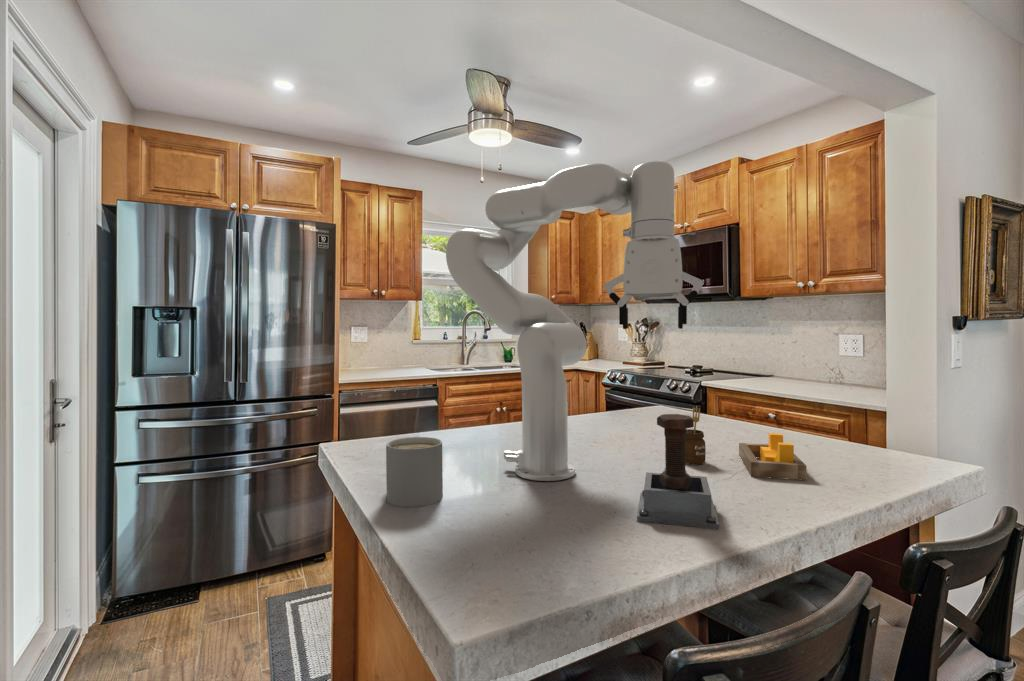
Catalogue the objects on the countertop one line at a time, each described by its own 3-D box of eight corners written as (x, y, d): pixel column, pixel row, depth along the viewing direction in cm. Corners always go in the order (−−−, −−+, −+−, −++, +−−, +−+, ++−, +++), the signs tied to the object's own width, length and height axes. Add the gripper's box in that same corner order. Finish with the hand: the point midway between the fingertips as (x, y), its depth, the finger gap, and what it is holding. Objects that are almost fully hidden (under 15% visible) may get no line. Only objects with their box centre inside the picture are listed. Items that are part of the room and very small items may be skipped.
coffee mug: (449, 502, 89) (449, 445, 89) (393, 510, 85) (392, 451, 85) (429, 481, 101) (428, 431, 101) (378, 488, 97) (377, 436, 97)
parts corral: (751, 476, 103) (751, 462, 103) (738, 455, 120) (738, 442, 120) (806, 480, 100) (806, 465, 100) (785, 458, 117) (785, 445, 117)
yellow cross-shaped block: (760, 460, 116) (760, 432, 116) (781, 461, 115) (781, 433, 115) (770, 474, 105) (770, 444, 105) (793, 476, 104) (793, 445, 103)
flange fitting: (637, 521, 79) (637, 490, 79) (642, 486, 97) (642, 461, 97) (719, 529, 76) (719, 497, 76) (708, 491, 94) (709, 465, 94)
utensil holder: (673, 462, 114) (673, 409, 114) (684, 457, 119) (684, 406, 119) (699, 467, 110) (699, 412, 110) (709, 461, 115) (709, 408, 115)
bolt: (654, 501, 86) (653, 413, 86) (683, 500, 87) (682, 413, 86) (667, 513, 80) (666, 420, 80) (698, 512, 81) (697, 419, 80)
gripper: (601, 233, 90) (601, 329, 91) (705, 227, 85) (704, 328, 86) (606, 240, 97) (606, 329, 98) (702, 234, 92) (701, 328, 93)
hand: (652, 328), depth 92 cm, fingers open, 9 cm apart
